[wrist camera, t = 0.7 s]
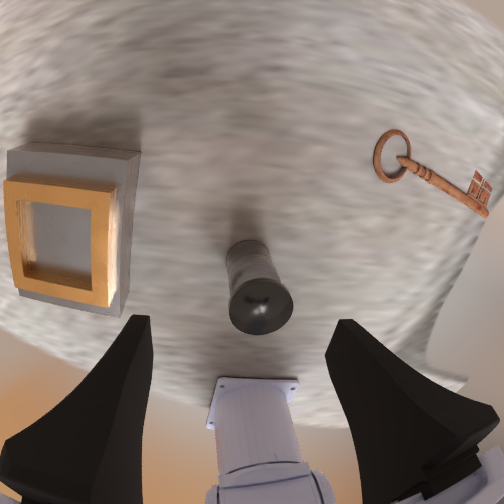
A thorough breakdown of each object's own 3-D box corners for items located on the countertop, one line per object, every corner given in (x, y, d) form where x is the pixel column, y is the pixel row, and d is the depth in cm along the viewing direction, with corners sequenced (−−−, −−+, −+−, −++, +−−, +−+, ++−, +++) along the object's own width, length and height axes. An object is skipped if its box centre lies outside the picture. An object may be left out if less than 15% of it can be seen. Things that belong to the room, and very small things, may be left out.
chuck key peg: (265, 284, 22) (282, 337, 17) (219, 277, 21) (223, 332, 16) (278, 241, 20) (301, 288, 15) (228, 233, 19) (236, 280, 15)
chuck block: (129, 291, 20) (117, 327, 17) (36, 273, 19) (13, 303, 15) (141, 152, 16) (123, 164, 13) (32, 142, 14) (-3, 153, 11)
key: (493, 177, 21) (388, 98, 17) (500, 179, 20) (396, 97, 16) (475, 230, 23) (364, 173, 19) (482, 234, 22) (371, 175, 18)
